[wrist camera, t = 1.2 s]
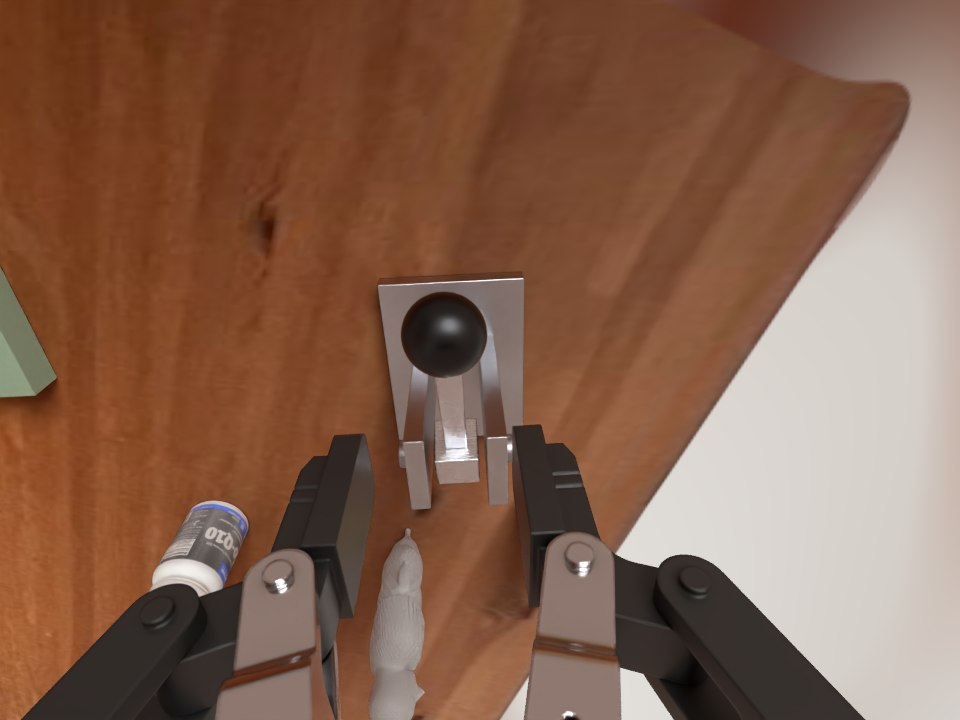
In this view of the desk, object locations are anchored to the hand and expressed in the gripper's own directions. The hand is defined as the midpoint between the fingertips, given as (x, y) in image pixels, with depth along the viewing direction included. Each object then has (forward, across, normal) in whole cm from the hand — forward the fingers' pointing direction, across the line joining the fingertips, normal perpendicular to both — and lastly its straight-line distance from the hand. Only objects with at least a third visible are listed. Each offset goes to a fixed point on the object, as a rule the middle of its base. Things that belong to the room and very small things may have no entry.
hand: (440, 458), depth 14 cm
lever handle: (+11, 0, +4) cm, 11 cm away
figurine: (+21, +5, +26) cm, 34 cm away
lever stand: (+21, 0, +9) cm, 23 cm away
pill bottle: (+21, +20, +23) cm, 37 cm away
